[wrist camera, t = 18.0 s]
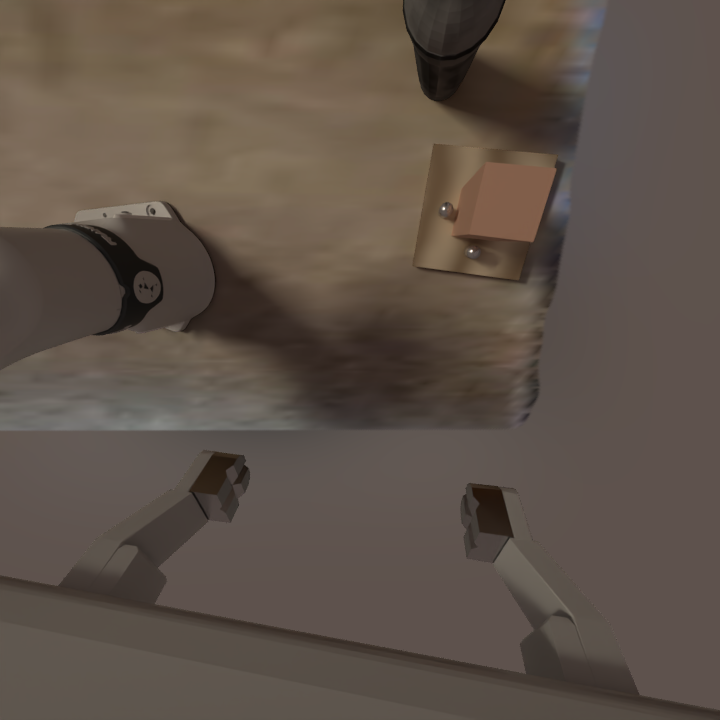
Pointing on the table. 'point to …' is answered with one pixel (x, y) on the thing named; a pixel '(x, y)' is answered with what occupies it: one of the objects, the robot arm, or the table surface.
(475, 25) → the beverage cup
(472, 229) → the terracotta post
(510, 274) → the pin plate
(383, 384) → the table surface
